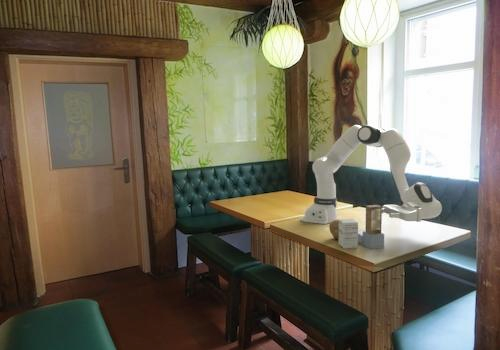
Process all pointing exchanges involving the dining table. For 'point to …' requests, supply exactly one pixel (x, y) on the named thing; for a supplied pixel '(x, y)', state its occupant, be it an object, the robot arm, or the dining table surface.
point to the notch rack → (371, 239)
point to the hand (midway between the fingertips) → (384, 213)
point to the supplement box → (348, 233)
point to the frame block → (373, 219)
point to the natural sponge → (334, 228)
